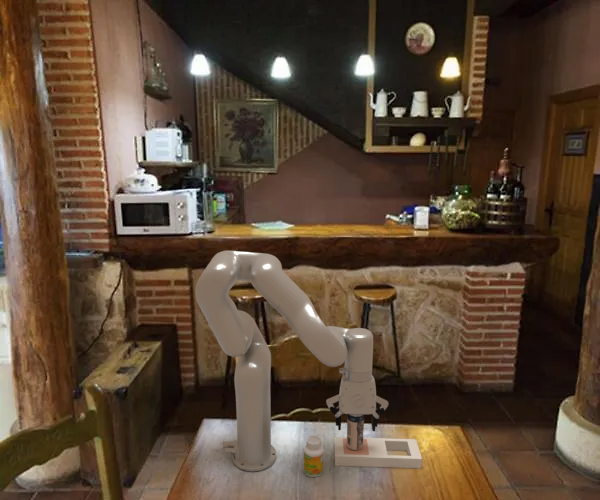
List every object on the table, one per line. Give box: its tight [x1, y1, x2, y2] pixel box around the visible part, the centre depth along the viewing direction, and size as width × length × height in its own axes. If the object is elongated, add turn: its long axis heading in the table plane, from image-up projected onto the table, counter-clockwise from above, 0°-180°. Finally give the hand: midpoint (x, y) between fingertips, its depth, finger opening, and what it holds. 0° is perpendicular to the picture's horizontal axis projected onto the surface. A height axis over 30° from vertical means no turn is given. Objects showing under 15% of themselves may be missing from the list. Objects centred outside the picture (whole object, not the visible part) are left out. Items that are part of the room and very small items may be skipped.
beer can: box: [346, 414, 365, 450], centre depth 138 cm, size 5×5×12 cm
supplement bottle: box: [303, 435, 325, 478], centre depth 132 cm, size 5×5×10 cm
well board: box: [333, 436, 423, 469], centre depth 139 cm, size 24×9×3 cm, turn 88°
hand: (356, 427), depth 138 cm, fingers open, 9 cm apart
